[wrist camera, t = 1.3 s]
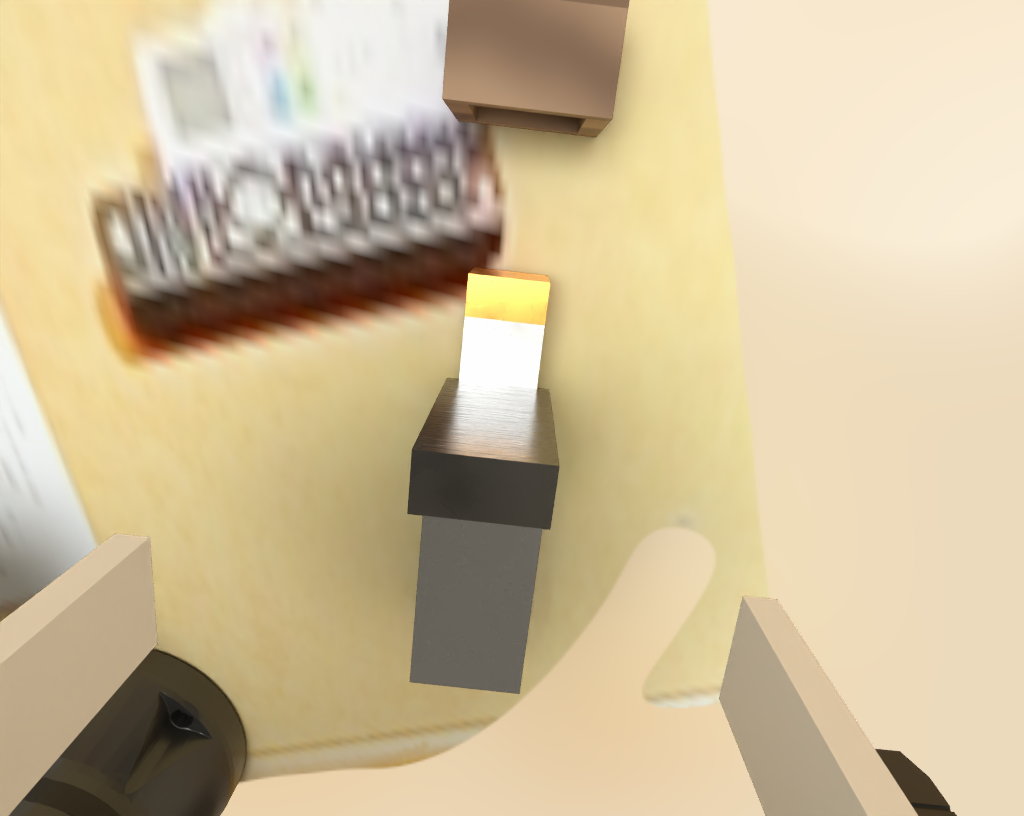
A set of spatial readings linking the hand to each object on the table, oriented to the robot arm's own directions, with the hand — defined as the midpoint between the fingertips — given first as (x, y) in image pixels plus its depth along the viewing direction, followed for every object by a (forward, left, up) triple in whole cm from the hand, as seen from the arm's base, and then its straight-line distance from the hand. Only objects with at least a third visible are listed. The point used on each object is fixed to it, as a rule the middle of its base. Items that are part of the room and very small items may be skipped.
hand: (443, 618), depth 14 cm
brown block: (+15, 0, -23) cm, 28 cm away
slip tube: (-5, 0, -22) cm, 22 cm away
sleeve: (-9, 0, -23) cm, 24 cm away
